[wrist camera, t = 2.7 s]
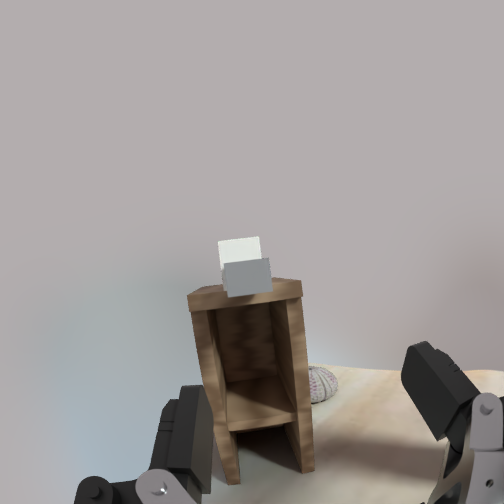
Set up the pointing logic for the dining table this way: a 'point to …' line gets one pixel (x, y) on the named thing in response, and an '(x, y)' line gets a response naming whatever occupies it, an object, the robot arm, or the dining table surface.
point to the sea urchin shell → (321, 384)
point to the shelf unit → (254, 367)
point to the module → (244, 267)
